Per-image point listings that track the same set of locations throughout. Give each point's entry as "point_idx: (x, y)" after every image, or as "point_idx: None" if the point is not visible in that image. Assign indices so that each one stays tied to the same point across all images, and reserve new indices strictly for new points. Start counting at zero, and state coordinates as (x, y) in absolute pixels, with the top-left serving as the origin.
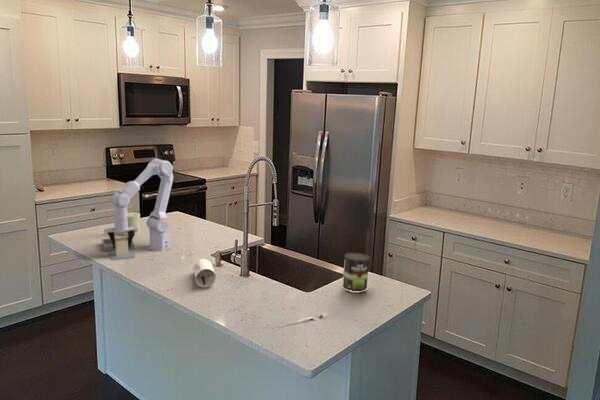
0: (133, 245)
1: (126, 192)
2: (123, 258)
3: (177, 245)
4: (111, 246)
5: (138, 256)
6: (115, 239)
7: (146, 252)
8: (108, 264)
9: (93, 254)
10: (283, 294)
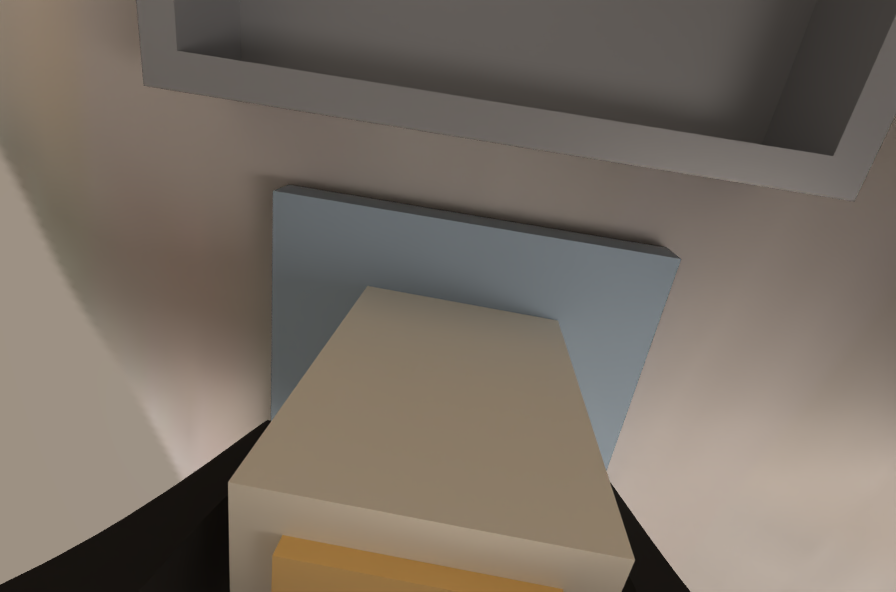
0: (813, 192)
1: None
2: None
3: None
4: (298, 95)
5: (654, 476)
6: (234, 557)
7: (866, 377)
8: None
9: (33, 51)
10: None
